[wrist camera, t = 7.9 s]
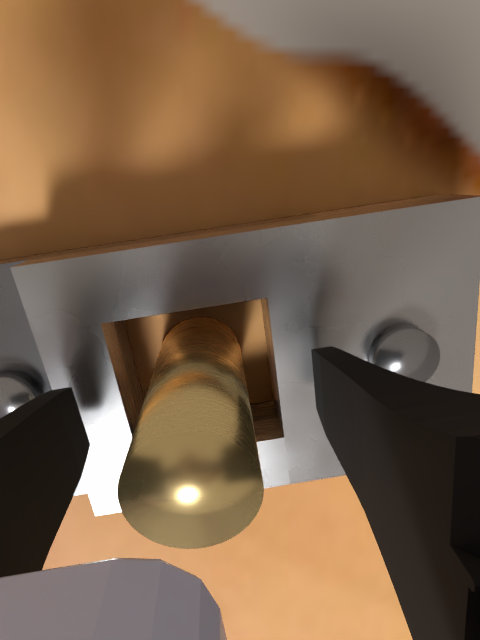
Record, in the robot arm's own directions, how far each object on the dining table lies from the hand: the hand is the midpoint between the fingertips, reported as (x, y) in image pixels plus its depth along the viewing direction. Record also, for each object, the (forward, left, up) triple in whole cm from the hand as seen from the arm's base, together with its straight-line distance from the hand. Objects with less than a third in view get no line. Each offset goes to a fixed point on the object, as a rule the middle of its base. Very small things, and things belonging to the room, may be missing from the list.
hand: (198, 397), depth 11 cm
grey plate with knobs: (0, 0, -3) cm, 3 cm away
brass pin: (0, 0, -3) cm, 3 cm away
